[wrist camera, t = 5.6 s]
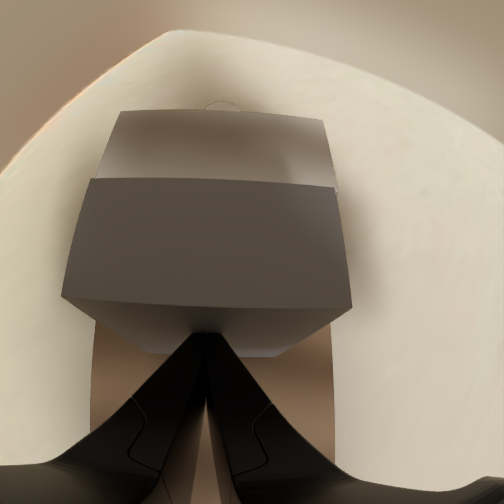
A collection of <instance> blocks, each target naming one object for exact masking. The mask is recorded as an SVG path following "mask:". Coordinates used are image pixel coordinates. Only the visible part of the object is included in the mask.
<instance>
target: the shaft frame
mask: <svg viewBox="0 0 504 504" xmlns="http://www.w3.org/2000/svg"><path fill="white" fill-rule="evenodd" d="M95 178H204V179H229V180H248V181H264V182H279V183H292V184H304V185H315V186H325V187H335V193H336V194H337V193H338V186H337V181H336V176H335V171H334V166H333V162H332V157H331V153H330V148H329V144H328V140H327V136H326V131H325V127H324V123H323V120H319V119H311V118H304V117H296V116H287V115H278V114H267V113H255V112H241V111H223V110H139V111H121V112H120V114H119V116H118V119H117V121H116V124H115V126H114V128H113V131H112V133H111V136H110V138H109V141H108V144H107V146H106V149H105V152H104V154H103V157H102V160H101V163H100V165H99V168H98V171H97V174H96V177H95ZM170 355H171V354H157V353H148V352H146V351H144V350H142V349H141V348H139V347H137V346H136V345H134V344H132V343H131V342H129V341H127V340H126V339H124V338H122V337H121V336H119V335H118V334H116V333H114V332H113V331H111V330H110V329H108V328H106V327H105V326H103V325H102V324H100V323H99V322H97V321H96V326H95V335H94V346H93V358H92V374H91V398H90V433H91V432H92V431H93V430H94V429H96V428H97V427H98V426H99V425H101V424H102V423H103V422H104V421H105V420H107V419H108V418H109V417H110V416H111V415H112V414H113V413H114V412H115V411H117V410H118V409H119V408H120V407H121V406H122V405H123V404H124V403H125V402H126V401H127V400H128V399H129V398H131V396H132V395H133V394H134V393H135V392H136V390H137V389H138V388H139V387H140V386H141V385H142V384H143V383H144V382H145V381H146V380H147V379H148V378H149V377H150V376H151V375H152V374H153V373H154V372H155V371H156V370H157V369H158V368H159V367H160V366H161V365H162V364H163V362H164V361H165V360H166V359H167V358H168V357H169V356H170ZM239 359H240V360H241V361H242V363H243V364H244V365H245V367H246V368H247V369H248V371H249V372H250V373H251V375H252V376H253V377H254V379H255V380H256V381H257V383H258V384H259V385H260V387H261V388H262V389H263V391H264V392H265V393H266V395H267V396H268V397H269V398H270V400H271V401H272V403H273V404H274V405H275V406H276V407H277V408H278V410H279V411H280V412H281V414H282V415H283V416H284V417H285V418H286V419H287V421H288V422H289V423H290V424H291V425H292V426H293V427H294V428H295V429H296V430H297V431H298V432H299V433H300V434H301V435H302V436H303V437H304V438H305V439H306V440H307V441H309V442H310V443H311V444H312V445H313V446H314V447H315V448H316V449H318V450H319V451H320V452H321V453H322V454H323V455H324V456H326V457H327V458H328V459H329V460H330V461H331V462H333V463H334V464H335V416H334V383H333V362H332V345H331V330H330V323H329V324H327V325H326V326H324V327H323V328H321V329H320V330H318V331H317V332H315V333H313V334H312V335H310V336H309V337H307V338H306V339H304V340H302V341H301V342H299V343H297V344H296V345H294V346H293V347H291V348H289V349H288V350H286V351H284V352H283V353H281V354H279V355H278V356H276V357H239ZM190 504H221V500H220V494H219V489H218V483H217V477H216V471H215V465H214V459H213V452H212V446H211V439H210V432H209V425H208V417H207V408H206V407H205V414H204V420H203V426H202V432H201V439H200V445H199V451H198V457H197V464H196V470H195V477H194V483H193V490H192V497H191V503H190Z"/></svg>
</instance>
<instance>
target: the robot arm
mask: <svg viewBox="0 0 504 504" xmlns="http://www.w3.org/2000/svg"><path fill="white" fill-rule="evenodd" d="M205 407H206V408H207V417H208V425H209V432H210V439H211V446H212V452H213V459H214V465H215V471H216V477H217V483H218V489H219V494H220V500H221V504H504V478H500V477H491V476H485V477H482V478H480V479H478V480H476V481H474V482H472V483H471V484H469V485H467V486H465V487H462V488H459V489H456V490H451V491H442V492H435V491H423V490H414V489H407V488H400V487H394V486H388V485H382V484H377V483H372V482H367V481H363V480H359V479H357V478H354V477H352V476H351V475H349V474H347V473H345V472H344V471H342V470H341V469H340V468H339V467H337V466H336V465H335V464H334V463H333V462H331V461H330V460H329V459H328V458H327V457H326V456H324V455H323V454H322V453H321V452H320V451H319V450H318V449H316V448H315V447H314V446H313V445H312V444H311V443H310V442H309V441H307V440H306V439H305V438H304V437H303V436H302V435H301V434H300V433H299V432H298V431H297V430H296V429H295V428H294V427H293V426H292V425H291V424H290V423H289V422H288V421H287V419H286V418H285V417H284V416H283V415H282V414H281V412H280V411H279V410H278V408H277V407H276V406H275V405H274V404H273V403H272V401H271V400H270V398H269V397H268V396H267V395H266V393H265V392H264V391H263V389H262V388H261V387H260V385H259V384H258V383H257V381H256V380H255V379H254V377H253V376H252V375H251V373H250V372H249V371H248V369H247V368H246V367H245V365H244V364H243V363H242V361H241V360H240V359H239V357H238V356H237V354H236V353H235V352H234V350H233V349H232V348H231V346H230V345H229V343H228V342H227V341H226V339H225V338H224V336H223V335H222V334H220V333H208V334H207V335H206V333H195V332H193V333H191V334H190V335H189V336H188V337H187V338H186V339H185V341H184V342H183V343H182V344H181V345H180V346H179V347H178V348H177V349H176V350H175V351H174V352H173V353H172V354H171V355H170V356H169V357H168V358H167V359H166V360H165V361H164V362H163V364H162V365H161V366H160V367H159V368H158V369H157V370H156V371H155V372H154V373H153V374H152V375H151V376H150V377H149V378H148V379H147V380H146V381H145V382H144V383H143V384H142V385H141V386H140V387H139V388H138V389H137V390H136V392H135V393H134V394H133V395H132V396H131V398H129V399H128V400H127V401H126V402H125V403H124V404H123V405H122V406H121V407H120V408H119V409H118V410H117V411H115V412H114V413H113V414H112V415H111V416H110V417H109V418H108V419H107V420H105V421H104V422H103V423H102V424H101V425H99V426H98V427H97V428H96V429H94V430H93V431H92V432H91V433H89V434H88V435H87V436H85V437H84V438H83V439H81V440H80V441H79V442H77V443H76V444H75V445H73V446H72V447H71V448H69V449H68V450H67V451H65V452H64V453H63V454H61V455H60V456H58V457H56V458H54V459H52V460H50V461H47V462H44V463H39V464H27V465H4V466H0V504H190V503H191V497H192V490H193V483H194V477H195V470H196V464H197V457H198V451H199V445H200V439H201V432H202V426H203V420H204V414H205Z"/></svg>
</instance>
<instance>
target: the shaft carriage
mask: <svg viewBox="0 0 504 504" xmlns="http://www.w3.org/2000/svg"><path fill="white" fill-rule="evenodd" d="M204 110H223V111H241V110H240V109H239V108H238V107H237V106H236V105H234V104H232V103H229V102H215V103H212V104H210V105H209V106H207V107H206V108H205V109H204ZM61 297H63V298H64V299H65V300H67V301H68V302H70V303H71V304H72V305H74V306H75V307H77V308H78V309H80V310H81V311H82V312H84V313H85V314H87V315H88V316H90V317H91V318H93V319H94V320H96V321H97V322H99V323H100V324H102V325H103V326H105V327H106V328H108V329H110V330H111V331H113V332H114V333H116V334H118V335H119V336H121V337H122V338H124V339H126V340H127V341H129V342H131V343H132V344H134V345H136V346H137V347H139V348H141V349H142V350H144V351H146V352H148V353H157V354H172V353H173V352H174V351H175V350H176V349H177V348H178V347H179V346H180V345H181V344H182V343H183V342H184V341H185V339H186V338H187V337H188V336H189V335H190V334H191V333H193V332H195V333H206V335H207V334H208V333H220V334H222V335H223V336H224V338H225V339H226V341H227V342H228V343H229V345H230V346H231V348H232V349H233V350H234V352H235V353H236V354H237V356H238V357H276V356H278V355H279V354H281V353H283V352H284V351H286V350H288V349H289V348H291V347H293V346H294V345H296V344H297V343H299V342H301V341H302V340H304V339H306V338H307V337H309V336H310V335H312V334H313V333H315V332H317V331H318V330H320V329H321V328H323V327H324V326H326V325H327V324H329V323H330V322H332V321H334V320H335V319H337V318H338V317H340V316H341V315H343V314H344V313H345V312H347V311H348V310H350V309H351V308H352V300H351V291H350V283H349V275H348V267H347V260H346V253H345V246H344V239H343V233H342V227H341V221H340V215H339V209H338V203H337V198H336V193H335V187H325V186H315V185H304V184H292V183H279V182H264V181H248V180H229V179H204V178H91V180H90V183H89V186H88V189H87V192H86V195H85V198H84V201H83V205H82V208H81V212H80V215H79V219H78V222H77V226H76V230H75V233H74V237H73V241H72V245H71V250H70V254H69V258H68V263H67V267H66V272H65V277H64V282H63V288H62V293H61Z"/></svg>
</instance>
